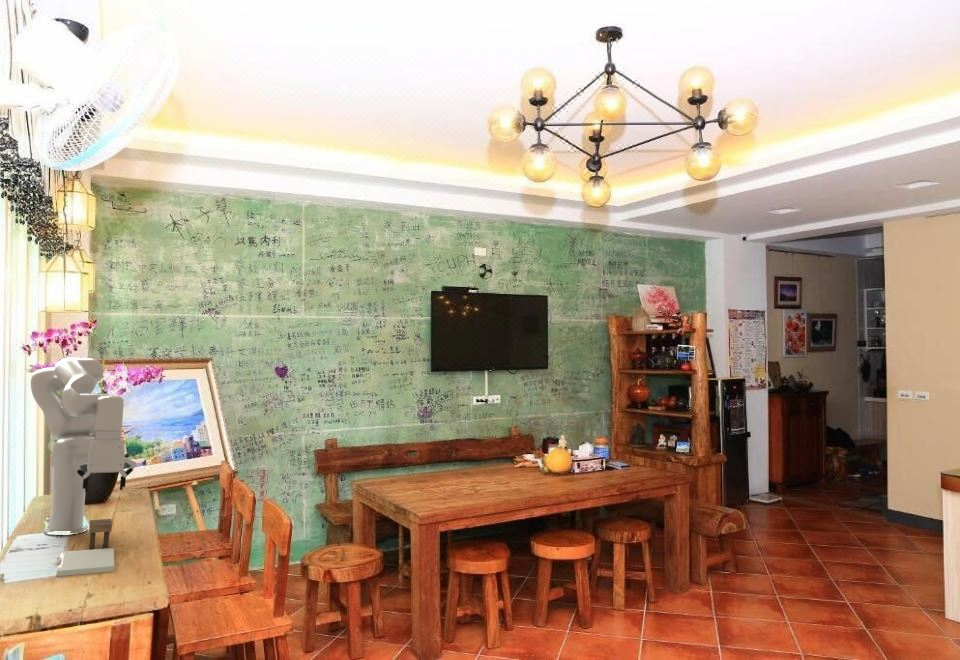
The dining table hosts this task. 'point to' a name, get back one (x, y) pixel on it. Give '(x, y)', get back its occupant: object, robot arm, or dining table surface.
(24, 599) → the dining table surface
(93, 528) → the stool
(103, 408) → the robot arm
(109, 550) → the board
